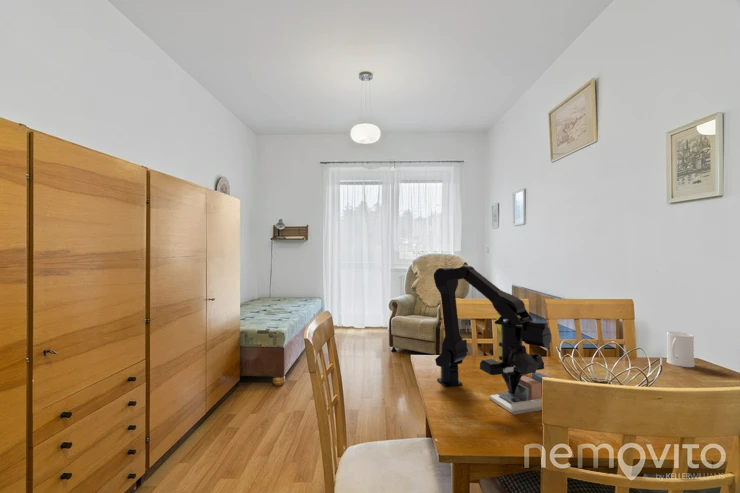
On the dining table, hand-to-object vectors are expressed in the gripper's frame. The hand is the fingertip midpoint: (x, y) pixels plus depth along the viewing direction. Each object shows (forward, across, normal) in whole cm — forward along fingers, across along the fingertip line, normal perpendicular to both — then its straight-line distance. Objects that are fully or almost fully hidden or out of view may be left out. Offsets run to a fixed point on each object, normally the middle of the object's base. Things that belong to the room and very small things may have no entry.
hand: (512, 393), depth 105 cm
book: (+3, +18, +26) cm, 32 cm away
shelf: (+3, +5, 0) cm, 6 cm away
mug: (+3, +88, +11) cm, 88 cm away
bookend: (+2, 0, 0) cm, 2 cm away
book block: (+2, +6, 0) cm, 6 cm away
